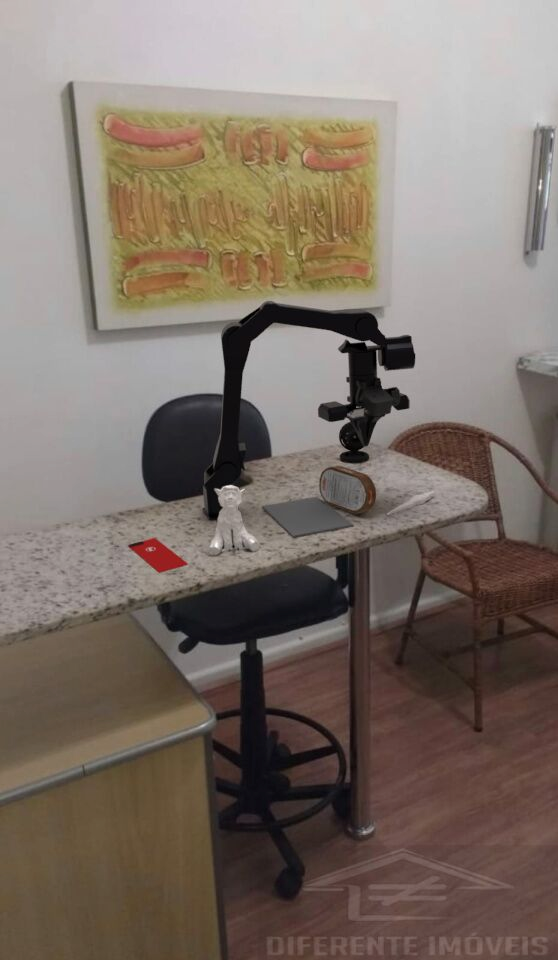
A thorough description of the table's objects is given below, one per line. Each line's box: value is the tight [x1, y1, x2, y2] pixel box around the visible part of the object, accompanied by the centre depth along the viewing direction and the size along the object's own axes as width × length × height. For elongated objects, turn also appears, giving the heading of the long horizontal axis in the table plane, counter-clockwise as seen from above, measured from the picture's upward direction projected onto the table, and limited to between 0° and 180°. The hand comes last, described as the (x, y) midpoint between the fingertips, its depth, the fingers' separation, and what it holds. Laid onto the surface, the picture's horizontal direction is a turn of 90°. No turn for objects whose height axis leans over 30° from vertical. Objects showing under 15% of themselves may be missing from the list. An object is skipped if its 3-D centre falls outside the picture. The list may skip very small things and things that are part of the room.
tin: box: [318, 465, 377, 514], centre depth 157 cm, size 15×3×8 cm, turn 39°
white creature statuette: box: [208, 485, 260, 557], centre depth 141 cm, size 10×9×12 cm
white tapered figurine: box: [386, 490, 436, 515], centre depth 159 cm, size 15×3×2 cm, turn 129°
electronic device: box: [127, 537, 189, 574], centre depth 140 cm, size 6×1×15 cm
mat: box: [261, 496, 354, 538], centre depth 155 cm, size 13×18×1 cm
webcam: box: [338, 421, 370, 464], centre depth 190 cm, size 8×8×10 cm
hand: (365, 446), depth 158 cm, fingers closed
